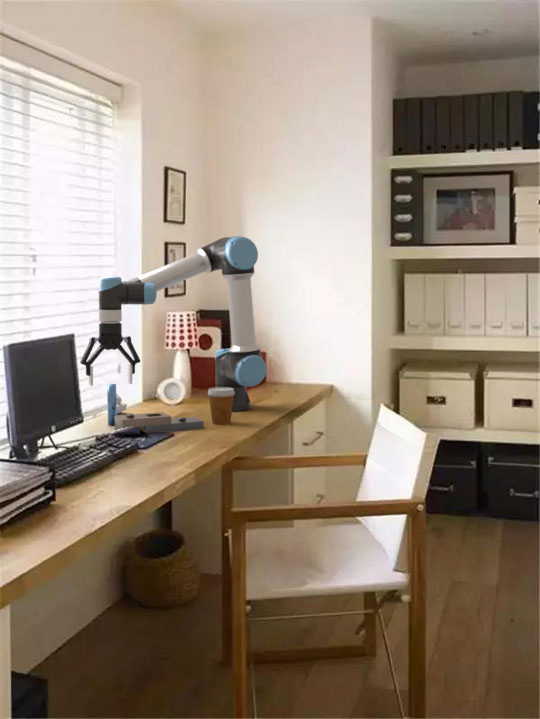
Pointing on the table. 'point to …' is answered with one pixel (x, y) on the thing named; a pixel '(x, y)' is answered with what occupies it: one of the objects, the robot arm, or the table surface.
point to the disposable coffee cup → (221, 404)
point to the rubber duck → (120, 406)
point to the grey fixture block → (158, 422)
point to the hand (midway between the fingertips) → (110, 384)
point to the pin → (111, 404)
